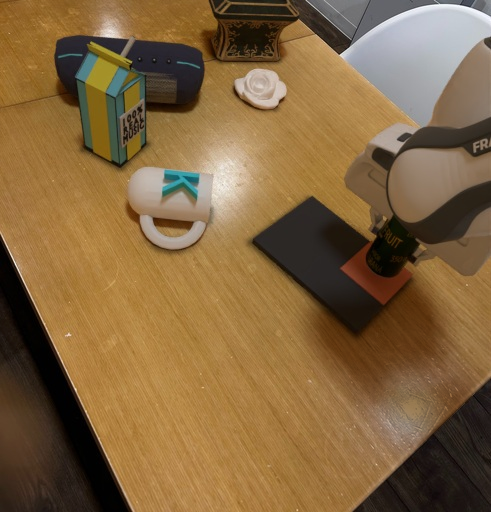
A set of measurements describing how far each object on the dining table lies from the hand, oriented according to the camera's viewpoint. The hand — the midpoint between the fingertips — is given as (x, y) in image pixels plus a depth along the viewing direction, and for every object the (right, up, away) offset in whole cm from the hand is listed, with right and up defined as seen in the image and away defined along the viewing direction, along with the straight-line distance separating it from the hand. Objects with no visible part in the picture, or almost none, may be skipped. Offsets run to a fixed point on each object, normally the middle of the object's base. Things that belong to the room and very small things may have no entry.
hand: (393, 245), depth 68 cm
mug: (-32, +4, +6) cm, 33 cm away
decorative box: (-22, +41, +35) cm, 59 cm away
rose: (-18, +30, +28) cm, 44 cm away
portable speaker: (-41, +27, +22) cm, 54 cm away
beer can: (-1, -3, +4) cm, 5 cm away
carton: (-41, +17, +14) cm, 46 cm away
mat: (-7, -2, +6) cm, 10 cm away
